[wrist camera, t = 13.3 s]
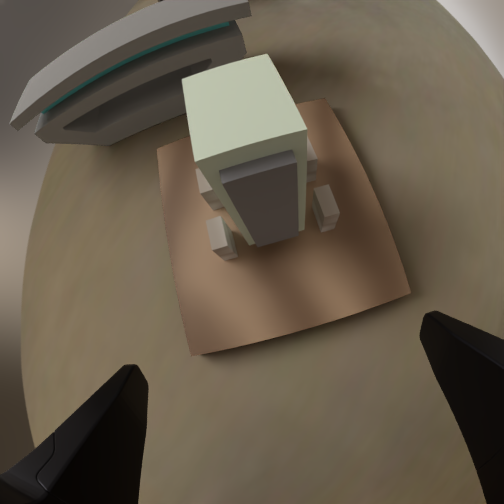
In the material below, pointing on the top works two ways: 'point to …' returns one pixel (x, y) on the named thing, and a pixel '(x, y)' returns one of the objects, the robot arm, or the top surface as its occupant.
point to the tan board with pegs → (278, 248)
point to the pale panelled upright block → (250, 146)
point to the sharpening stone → (131, 72)
